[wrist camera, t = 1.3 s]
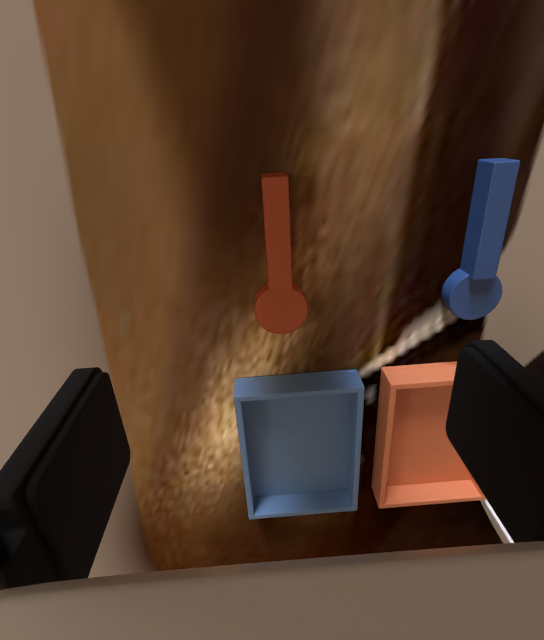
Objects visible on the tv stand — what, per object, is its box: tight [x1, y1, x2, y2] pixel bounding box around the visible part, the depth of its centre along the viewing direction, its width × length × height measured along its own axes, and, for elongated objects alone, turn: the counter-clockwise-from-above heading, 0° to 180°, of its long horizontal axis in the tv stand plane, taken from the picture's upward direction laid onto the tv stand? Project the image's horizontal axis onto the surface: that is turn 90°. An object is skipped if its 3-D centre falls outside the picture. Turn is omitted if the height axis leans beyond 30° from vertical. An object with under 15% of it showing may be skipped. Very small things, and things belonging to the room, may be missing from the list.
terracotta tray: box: [372, 361, 486, 509], centre depth 34 cm, size 14×10×2 cm
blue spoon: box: [442, 158, 520, 320], centre depth 27 cm, size 11×4×2 cm, turn 3°
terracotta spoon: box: [255, 172, 308, 334], centre depth 27 cm, size 11×4×2 cm, turn 3°
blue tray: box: [234, 369, 365, 519], centre depth 34 cm, size 14×10×2 cm
